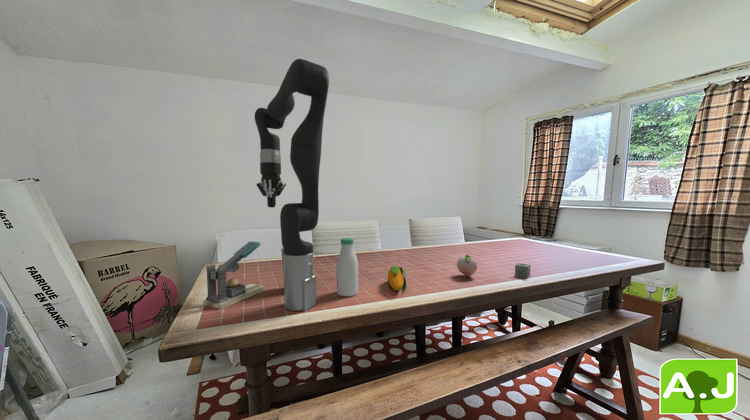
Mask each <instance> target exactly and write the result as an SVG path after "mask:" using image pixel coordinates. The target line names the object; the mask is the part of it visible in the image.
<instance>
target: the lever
mask: <svg viewBox="0 0 750 420" xmlns="http://www.w3.org/2000/svg"><path fill="white" fill-rule="evenodd" d="M260 247H261V242H260V241H248V242H247V243H246V244H244V245H243V246H242V247H241V248H239V249H238V250H236V251H235V252H234V253H233V256H232V257H230V258H229V259H227V261H225V262H224V263H223V264H221V266H219V267H223V266H226V273H227V272H228V273H233V274H234V273H235V272H236V271H238V270H239V269H240V268H241V266H240V265H239V262H240V261H241V260H242V259H246V258H247V257H248V256H249V255H250V254H252V253H253V252H254V251H255V250H257V249H258V248H260ZM210 279H215V280H216V281H217V280H218V279H217V269H216V270H215V271H211V276H210Z"/></svg>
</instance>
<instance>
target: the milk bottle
mask: <svg viewBox="0 0 750 420" xmlns="http://www.w3.org/2000/svg"><path fill="white" fill-rule="evenodd" d="M354 244H355V243H354V238H350V237H348V238H346V237H345V238H340V246H341V248H340V252H339V254H338V256H337V261H336V294H337V295H338V296H340V297H353V296H356V295H357V294H358V292H359V265H358V264H359V262H358V261H359V260H358V258H357V255H356V253H355V250H354Z"/></svg>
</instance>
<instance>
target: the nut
mask: <svg viewBox="0 0 750 420" xmlns="http://www.w3.org/2000/svg"><path fill="white" fill-rule="evenodd" d="M238 284H239V280H238V279H237V278H235V277H232V278H229V279H228V280H227V281H226V285H227V287H228V288H230V289H233V288H236V287H237V286H238Z"/></svg>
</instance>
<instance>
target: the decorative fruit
mask: <svg viewBox="0 0 750 420" xmlns="http://www.w3.org/2000/svg"><path fill="white" fill-rule="evenodd" d="M456 267H457V270H458V271H459V272H460V273H461V274H462V275H464V276H466V277H468V278H469V277H470V276H472V275H474V274H475V272H476V271H477V269H478V264H477V261H476V259H474V258H473V257H471V255H470V254H469V253H467V254H465V256H460V258H458V260H457V262H456Z"/></svg>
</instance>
